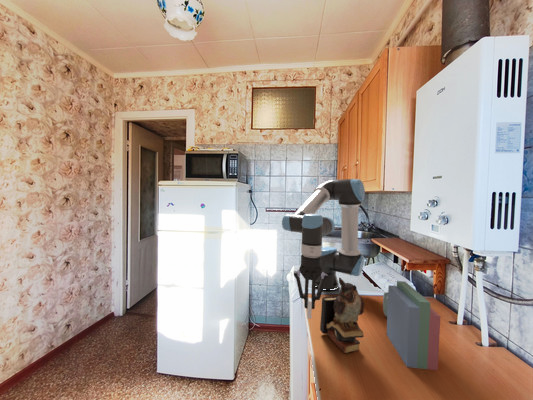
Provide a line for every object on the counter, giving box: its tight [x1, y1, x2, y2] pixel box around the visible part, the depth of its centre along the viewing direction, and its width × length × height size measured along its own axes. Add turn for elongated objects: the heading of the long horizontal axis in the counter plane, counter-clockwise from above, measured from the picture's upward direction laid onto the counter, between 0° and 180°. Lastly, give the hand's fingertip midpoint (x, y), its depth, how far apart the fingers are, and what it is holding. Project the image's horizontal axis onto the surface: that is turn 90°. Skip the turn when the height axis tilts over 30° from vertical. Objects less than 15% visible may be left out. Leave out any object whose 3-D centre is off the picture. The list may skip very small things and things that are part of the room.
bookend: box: [319, 277, 365, 354], centre depth 79 cm, size 15×11×25 cm
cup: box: [382, 291, 388, 318], centre depth 95 cm, size 8×8×10 cm
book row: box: [386, 280, 441, 371], centre depth 75 cm, size 16×9×22 cm, turn 171°
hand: (309, 316), depth 80 cm, fingers closed
